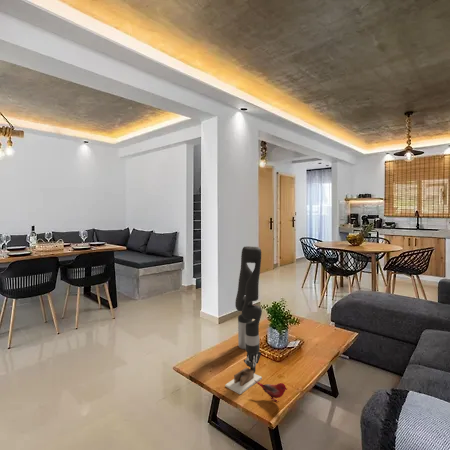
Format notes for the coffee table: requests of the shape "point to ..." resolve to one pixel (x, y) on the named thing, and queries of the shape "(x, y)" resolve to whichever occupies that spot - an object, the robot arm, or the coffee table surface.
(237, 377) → the slotted block
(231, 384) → the peg board
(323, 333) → the coffee table surface
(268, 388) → the decorative bird figurine
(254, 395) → the coffee table surface
